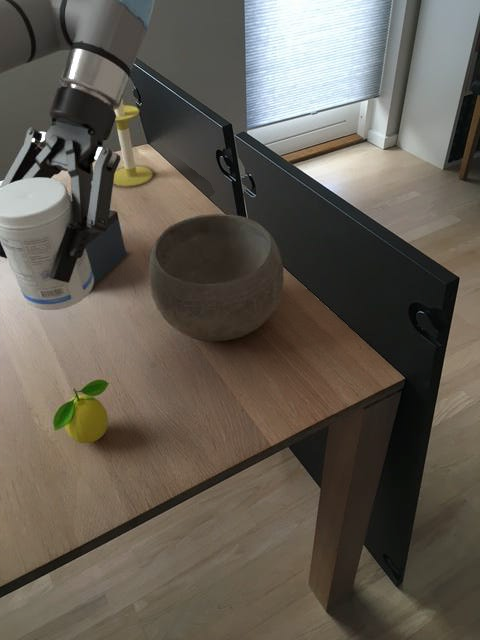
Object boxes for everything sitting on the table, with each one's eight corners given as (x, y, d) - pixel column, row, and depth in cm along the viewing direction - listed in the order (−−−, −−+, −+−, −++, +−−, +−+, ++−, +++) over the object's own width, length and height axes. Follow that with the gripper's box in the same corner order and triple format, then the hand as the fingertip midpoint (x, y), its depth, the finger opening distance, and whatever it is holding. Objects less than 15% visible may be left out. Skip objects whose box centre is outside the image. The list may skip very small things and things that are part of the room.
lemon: (118, 415, 75) (103, 366, 69) (116, 450, 71) (100, 401, 64) (70, 421, 75) (50, 372, 68) (65, 456, 71) (43, 408, 64)
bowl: (178, 380, 80) (164, 303, 70) (144, 298, 94) (128, 225, 84) (304, 340, 85) (308, 263, 75) (253, 269, 100) (251, 196, 90)
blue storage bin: (29, 275, 101) (13, 232, 94) (73, 240, 109) (61, 198, 103) (84, 293, 96) (71, 248, 90) (126, 254, 105) (117, 211, 98)
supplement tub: (64, 262, 79) (34, 168, 69) (109, 283, 75) (85, 187, 65) (9, 297, 73) (-32, 201, 63) (55, 323, 69) (19, 225, 59)
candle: (155, 183, 126) (131, 30, 104) (112, 189, 125) (78, 35, 103) (150, 164, 133) (126, 18, 112) (109, 170, 132) (77, 23, 110)
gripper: (175, 128, 66) (114, 299, 67) (46, 99, 75) (-6, 250, 76) (141, 98, 59) (74, 290, 60) (4, 70, 68) (-53, 237, 69)
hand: (30, 268), depth 68 cm, fingers closed on supplement tub, 9 cm apart
